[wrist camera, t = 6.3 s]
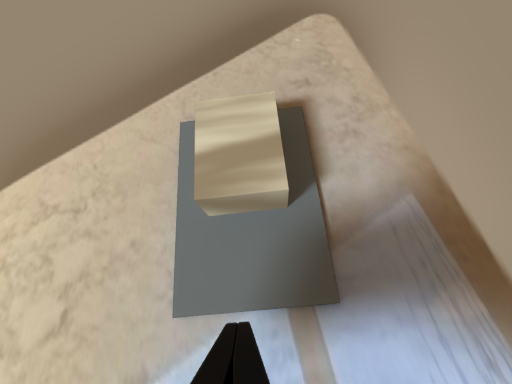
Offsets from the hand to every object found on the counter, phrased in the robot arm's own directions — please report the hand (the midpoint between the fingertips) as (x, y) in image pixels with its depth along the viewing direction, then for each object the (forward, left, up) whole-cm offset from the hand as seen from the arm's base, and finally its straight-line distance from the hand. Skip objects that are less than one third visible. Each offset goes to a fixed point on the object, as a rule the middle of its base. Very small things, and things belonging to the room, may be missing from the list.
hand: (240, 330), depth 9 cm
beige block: (+6, +3, -6) cm, 9 cm away
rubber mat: (+7, +4, -8) cm, 12 cm away
